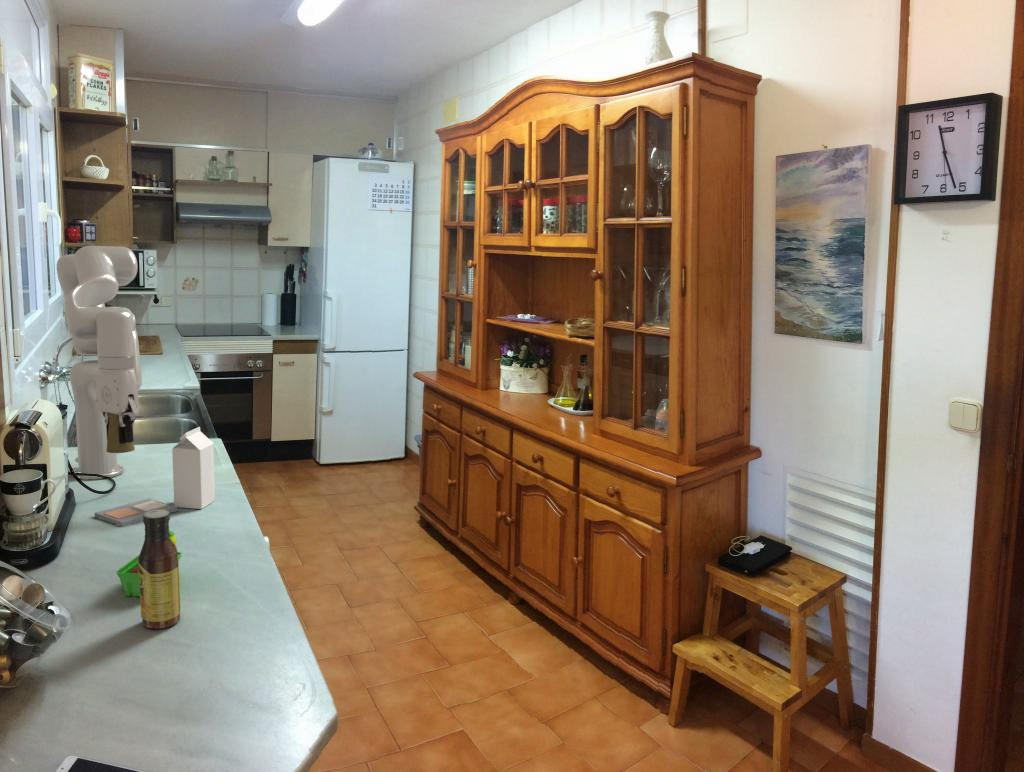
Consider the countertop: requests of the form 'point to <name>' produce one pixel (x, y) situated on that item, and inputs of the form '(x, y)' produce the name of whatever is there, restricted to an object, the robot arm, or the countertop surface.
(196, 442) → the milk carton
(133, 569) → the fruit basket
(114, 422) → the cork
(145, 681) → the countertop surface
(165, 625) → the sauce bottle
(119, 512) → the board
